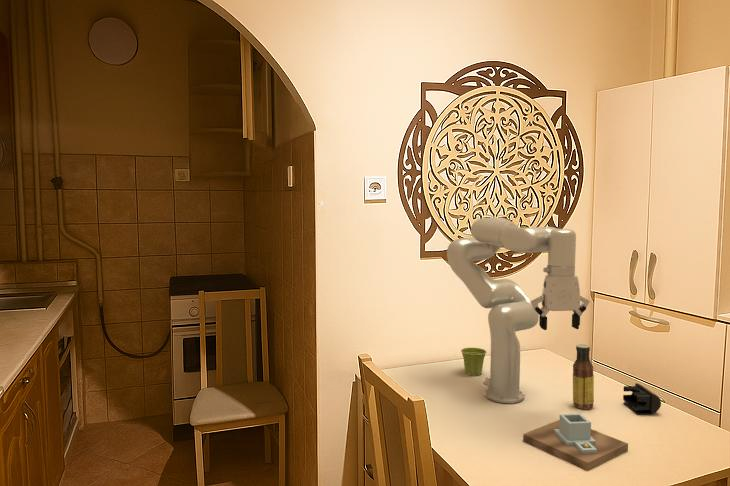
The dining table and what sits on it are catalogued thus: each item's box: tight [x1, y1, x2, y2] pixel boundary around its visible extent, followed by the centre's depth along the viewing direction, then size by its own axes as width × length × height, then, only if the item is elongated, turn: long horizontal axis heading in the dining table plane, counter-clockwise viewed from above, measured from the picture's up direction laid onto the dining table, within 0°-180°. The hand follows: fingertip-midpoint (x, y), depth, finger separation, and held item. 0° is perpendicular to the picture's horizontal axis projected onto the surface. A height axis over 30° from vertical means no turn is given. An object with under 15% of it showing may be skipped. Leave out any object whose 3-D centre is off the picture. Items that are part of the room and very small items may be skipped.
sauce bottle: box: [572, 343, 595, 410], centre depth 178 cm, size 7×6×20 cm
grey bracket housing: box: [554, 413, 597, 454], centre depth 149 cm, size 13×8×6 cm, turn 5°
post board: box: [522, 419, 629, 471], centre depth 152 cm, size 20×18×6 cm
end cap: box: [622, 382, 662, 416], centre depth 176 cm, size 10×7×7 cm
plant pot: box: [460, 347, 487, 376], centre depth 211 cm, size 9×9×9 cm
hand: (559, 328), depth 166 cm, fingers open, 9 cm apart
